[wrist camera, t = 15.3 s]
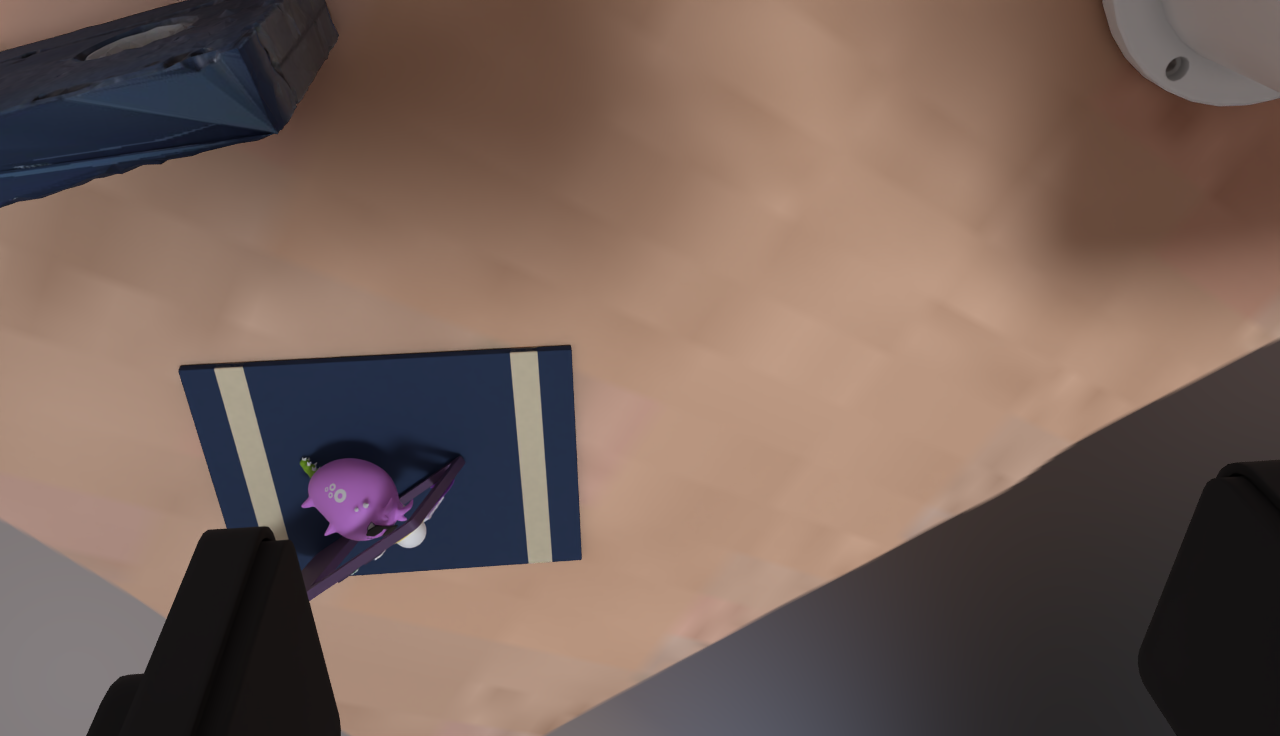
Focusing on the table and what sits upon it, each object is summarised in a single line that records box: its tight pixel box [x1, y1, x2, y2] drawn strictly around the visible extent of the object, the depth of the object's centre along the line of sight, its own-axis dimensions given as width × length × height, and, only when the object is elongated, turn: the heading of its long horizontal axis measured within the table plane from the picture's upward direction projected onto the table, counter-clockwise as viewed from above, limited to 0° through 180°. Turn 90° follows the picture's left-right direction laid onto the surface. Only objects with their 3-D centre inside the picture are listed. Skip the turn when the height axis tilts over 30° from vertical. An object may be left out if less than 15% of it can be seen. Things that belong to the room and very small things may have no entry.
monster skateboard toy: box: [300, 456, 466, 601], centre depth 41 cm, size 7×5×9 cm
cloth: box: [179, 345, 582, 576], centre depth 44 cm, size 16×12×1 cm
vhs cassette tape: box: [0, 0, 339, 208], centre depth 29 cm, size 18×3×10 cm, turn 102°
